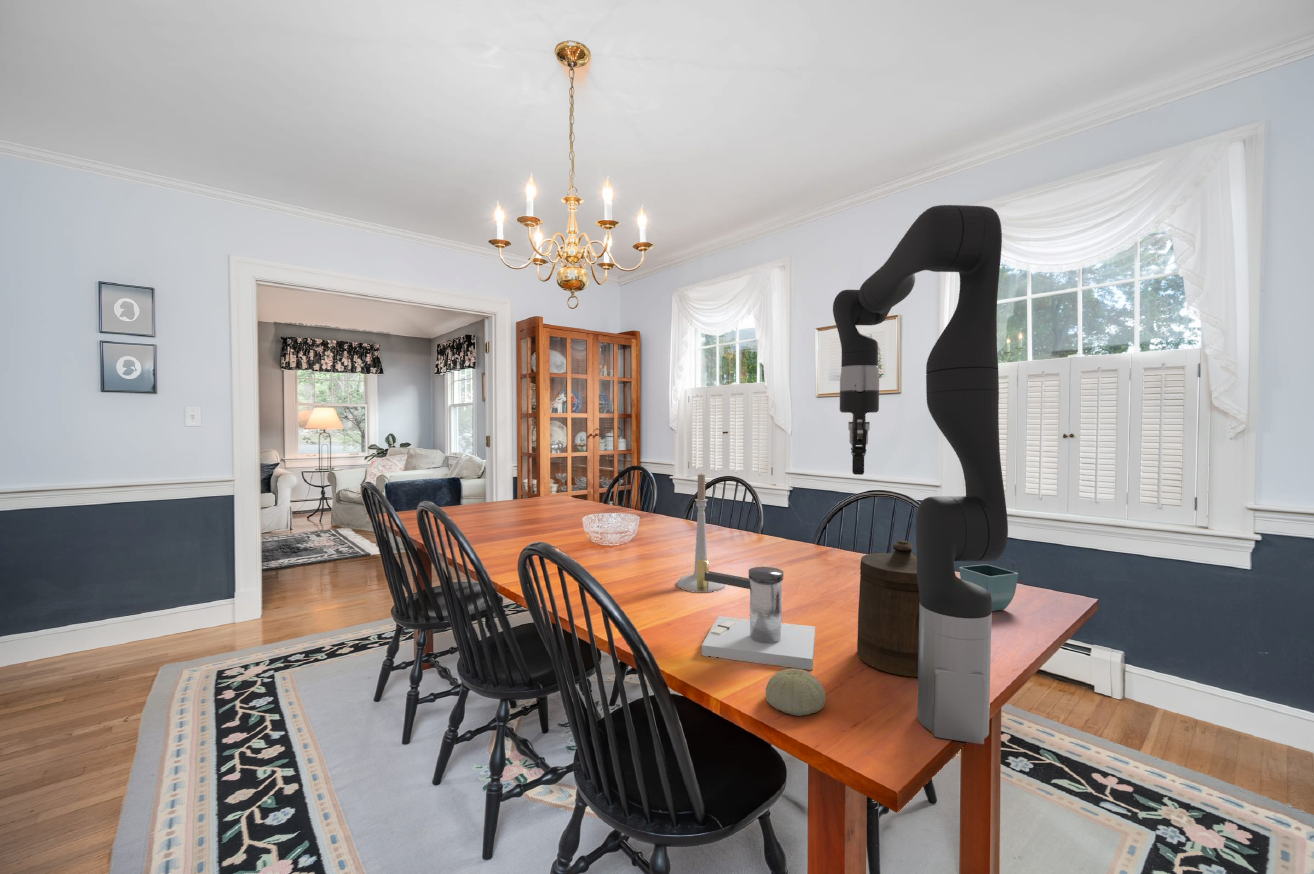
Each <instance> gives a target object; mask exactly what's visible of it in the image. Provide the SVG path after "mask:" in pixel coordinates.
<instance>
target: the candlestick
mask: <svg viewBox="0 0 1314 874" xmlns="http://www.w3.org/2000/svg"><path fill="white" fill-rule="evenodd" d="M708 500H709V499H708V498H707V499H706V474H704V473H700V474H699V473H698V474H697V498H695V499H694V501H695V502H696V504H695V505H696V507H697V514H696V515H697V519H696V520H697V521H696V533H695V534H696V536H695V557H694V571H693V573H690V574H686V575H683V576H682V577H680V578H679V579H678V580H677V581H676V586H677V588H679V587H680V588H681V589H680V588H679V589H680V590H682V589H684V590H683V591H685V590H687V591H686V592H689V591H694V592H693V593H697V592H709V593H715V592H714V591H716V592H719V590H720V591H721V590H724V589H725V588H724V587H726V585H725V584H720V583H715V582H710V581H709V590H708V591H698V590H697V560H699V559H706V560H708V552H707V551H708V550H707V529H706V513H705V509H706V507H707V502H708ZM712 591H713V592H712Z"/></svg>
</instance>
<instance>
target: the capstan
mask: <svg viewBox="0 0 1314 874" xmlns="http://www.w3.org/2000/svg"><path fill="white" fill-rule="evenodd" d="M709 562H710V560H709V559H707V560H706V559H699V560H697V590H698V591H708V590H709V581H710V582H715V583H720V584H725V586H726V585H727V586H732V587H736V588H742V589H747V590H749V619H750V637H751V638H752V639H754V640H757V641H761V642H776V641H779V640H780V639H781V626H782V623H783V622H782V621H783V620H782V619H783V618H782V617H783V615H782V613H783V612H782V610H783V609H782V603H783V601H782V599H783V598H782V597H783V591H782V590H783V580H784V575H785V574H784V573H785V572H784V571H783V570H782V569H781V568H780V569H779V568H777V567H773V566H772V567H771V566H755V567H751V568H749V569H748V577H743V576H737V575H732V574H728V573H722V572H715V571H710V569H709V568H710V566H709V565H710V563H709Z"/></svg>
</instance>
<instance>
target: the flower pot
mask: <svg viewBox="0 0 1314 874" xmlns="http://www.w3.org/2000/svg"><path fill="white" fill-rule="evenodd" d="M958 569H959V575H960V579H962V580H965V581H968V582H971V583H974V584H976V585H979V586H981V587H983V588H984V589H986V590H987V591H988V592H989V593H990V595H991V598H992V612H995V611H1002V610H1005V609H1007V608H1008V606H1009V605H1010V604H1011V602H1012V601H1013V600H1014V596H1015V595H1016V590H1017V584H1018V579H1019V573H1018V572H1016V571H1012V570H1008V569H1005V568H1002V567H998V566H995V565H991V564H986V563H985V564H976V565H975V564H974V565H968V566H959V567H958Z"/></svg>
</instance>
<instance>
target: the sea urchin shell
mask: <svg viewBox="0 0 1314 874" xmlns="http://www.w3.org/2000/svg"><path fill="white" fill-rule="evenodd" d="M824 688H825V687H824V686H823V684H822V683H821V681H819V679H818V678H817V677H816V676H815V675H813V674H812V673H810V671H809V670H806V669H800V668H788V669H785V668H783V669H782V670H779V671H778V672H776V673H775V674H773V675H772V676H771V677H770V678H769V680H768V682H767V684H766V686H765V699H766V702H767V703H768V704H769V705H770V706H771V707H773V708H774V709H776V710H777V711H780V712H782V713H785V714H788V715H792V716H795V717H797V716H798V717H802V716H809V715H811V714H815V713H818V712H819V711H821V710H823V709H824V706H825V704H826V702H827V695H826V691H825V689H824Z"/></svg>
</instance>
